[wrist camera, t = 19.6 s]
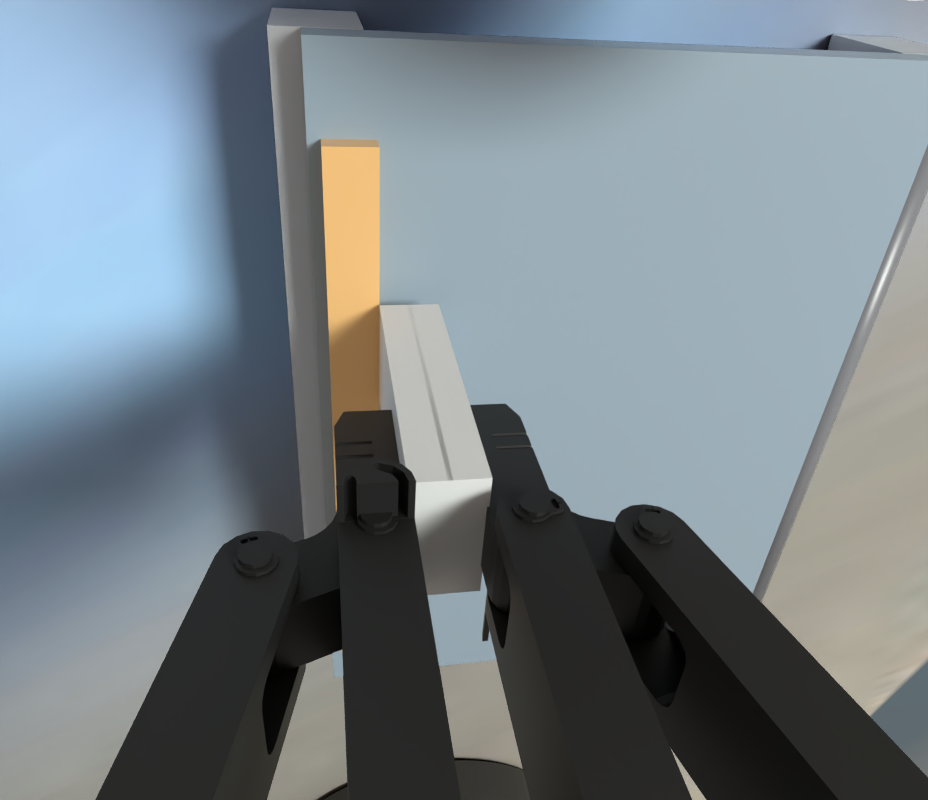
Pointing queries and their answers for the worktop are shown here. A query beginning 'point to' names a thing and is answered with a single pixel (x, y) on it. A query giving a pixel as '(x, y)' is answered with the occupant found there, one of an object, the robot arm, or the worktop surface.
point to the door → (616, 257)
